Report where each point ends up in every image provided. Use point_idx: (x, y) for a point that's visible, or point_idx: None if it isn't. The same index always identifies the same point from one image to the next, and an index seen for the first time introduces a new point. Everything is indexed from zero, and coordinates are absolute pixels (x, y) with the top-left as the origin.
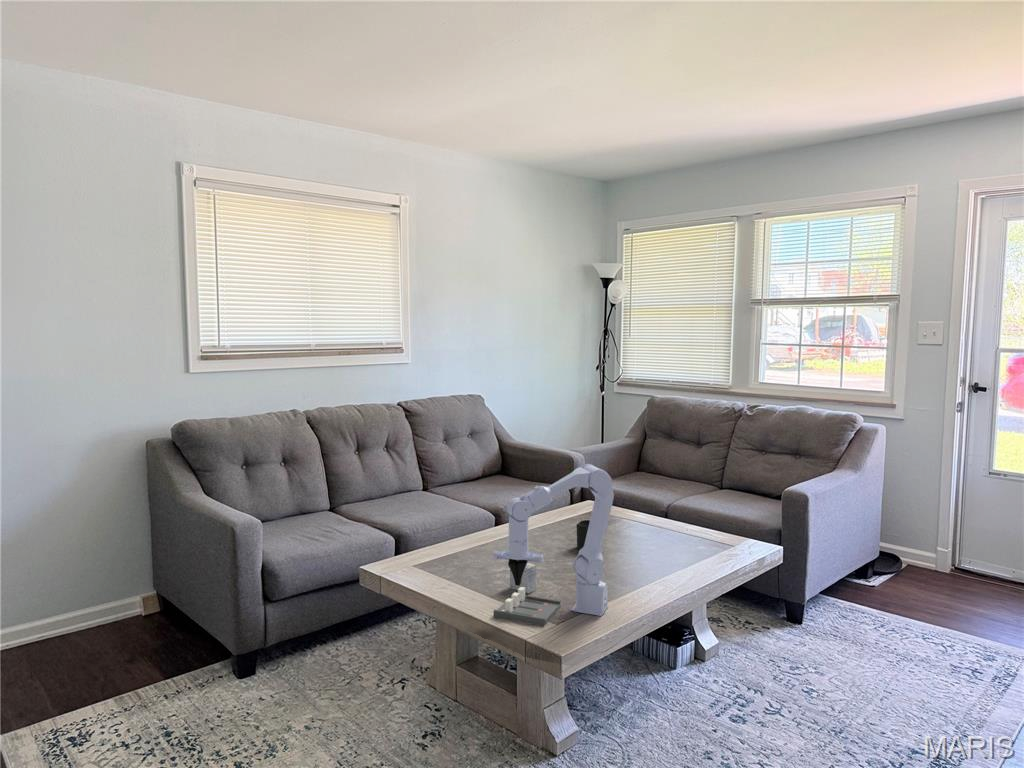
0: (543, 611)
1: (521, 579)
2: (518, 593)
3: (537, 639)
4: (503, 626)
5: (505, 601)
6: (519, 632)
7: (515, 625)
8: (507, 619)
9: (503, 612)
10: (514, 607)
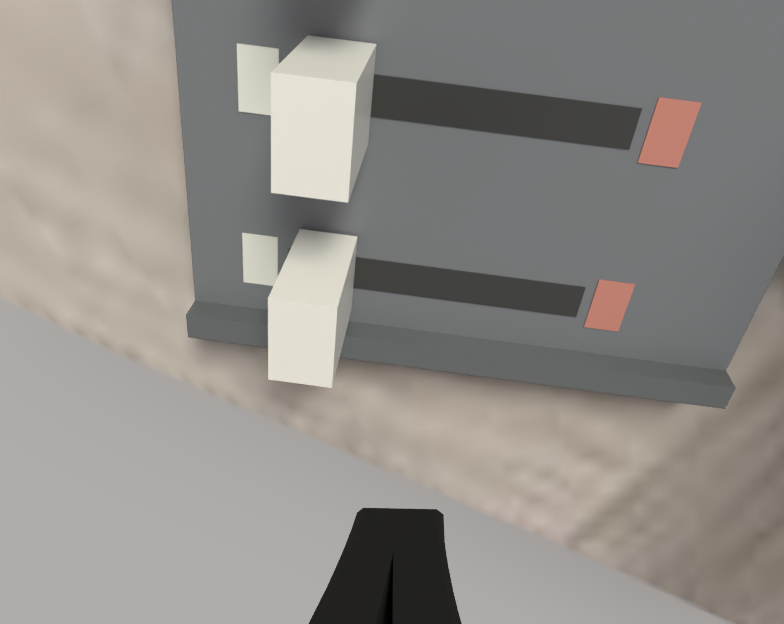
0: (711, 161)
1: (447, 563)
2: (345, 102)
3: (648, 542)
4: (358, 429)
5: (274, 378)
6: (503, 484)
7: (446, 398)
8: None
9: None
10: None
